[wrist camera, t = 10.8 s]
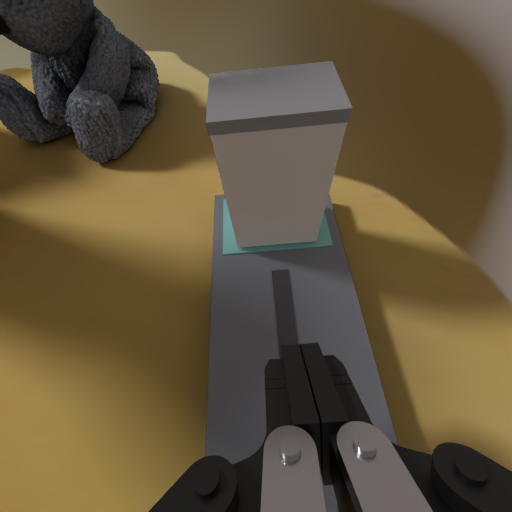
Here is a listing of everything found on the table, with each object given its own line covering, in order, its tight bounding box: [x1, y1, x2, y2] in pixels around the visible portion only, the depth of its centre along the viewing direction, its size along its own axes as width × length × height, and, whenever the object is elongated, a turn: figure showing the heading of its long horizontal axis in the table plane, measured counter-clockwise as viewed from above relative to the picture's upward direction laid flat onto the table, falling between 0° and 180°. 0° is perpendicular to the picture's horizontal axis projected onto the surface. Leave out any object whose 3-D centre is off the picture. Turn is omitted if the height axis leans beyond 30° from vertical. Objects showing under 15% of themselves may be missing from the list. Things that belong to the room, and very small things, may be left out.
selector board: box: [205, 195, 398, 512], centre depth 17 cm, size 22×10×2 cm, turn 3°
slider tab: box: [206, 61, 352, 248], centre depth 16 cm, size 4×6×10 cm
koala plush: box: [0, 0, 159, 163], centre depth 26 cm, size 17×18×20 cm
